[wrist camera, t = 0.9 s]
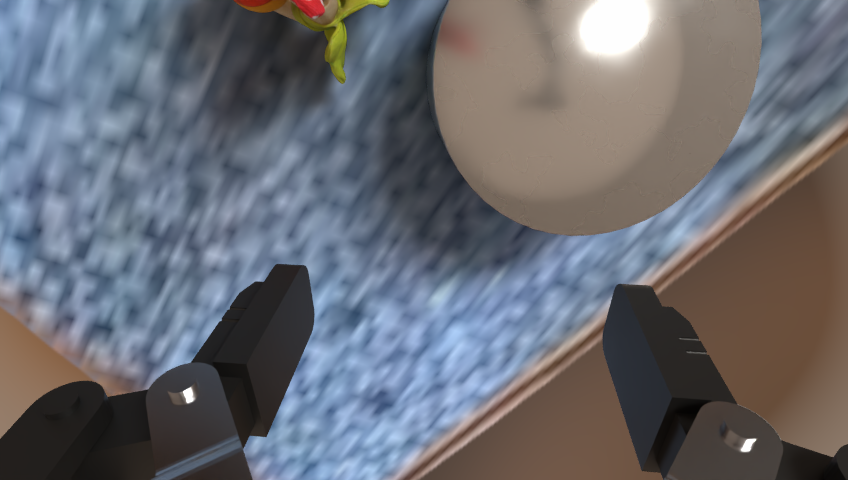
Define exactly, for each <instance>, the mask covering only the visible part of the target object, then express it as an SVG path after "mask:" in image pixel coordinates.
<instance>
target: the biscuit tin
mask: <svg viewBox="0 0 848 480" xmlns="http://www.w3.org/2000/svg"><path fill="white" fill-rule="evenodd" d="M760 52H761V17H760V10H759V2H758V0H448V2H447V3H446V5H445V7H444V9H443V11H442V13H441V15H440V17H439V19H438V22H437V25H436V27H435V30H434V32H433V36H432V40H431V44H430V48H429V52H428V60H427V68H426V88H427V96H428V104H429V108H430V112H431V116H432V120H433V122H434V125H435V127H436V130H437V132H438V135H439V137H440V138H441V140H442V142H443V144H444V146H445V147H446V149H447V151H448V153H449V155H450V157H451V158H452V160H453V162H454V164H455V166H456V168H457V169H458V170H459V172H460V173H461V174H462V176H463V177H464V178H465V180H466V181H467V183H468V184H469V185H470V187H471V188H472V189H473V190H474V191H475V192H476V193H477V194H478V195H479V196H480V197H481V198H482V199H483V200H484V201H485V202H486V203H488V204H489V205H490V206H492V207H493V208H494V209H496V210H497V211H498V212H499V213H501V214H503V215H505V216H506V217H508V218H510V219H512V220H513V221H515V222H517V223H520V224H522V225H525V226H527V227H530V228H532V229H535V230H539V231H543V232H547V233H552V234H560V235H569V236H578V235H595V234H602V233H608V232H612V231H616V230H620V229H623V228H627V227H630V226H632V225H635V224H637V223H640V222H642V221H645V220H647V219H649V218H650V217H652V216H654V215H656V214H658V213H660V212H662V211H663V210H665V209H666V208H668V207H669V206H671V205H672V204H674V203H675V202H677V201H678V200H679V199H681V198H682V197H683V196H684V195H686V194H687V193H688V192H689V191H690V190H691V189H692V188H694V187H695V186H696V185H697V184H698V183H699V182H700V181H701V180H702V179H703V178H704V177H705V176H706V174H707V173H708V172H709V171H710V170H711V169H712V168H713V167H714V165H715V164H716V163H717V161H718V160H719V159H720V157H721V156H722V155H723V153H724V152H725V151H726V149H727V147H728V146H729V144H730V142H731V141H732V139H733V137H734V136H735V134H736V132H737V130H738V128H739V126H740V124H741V122H742V120H743V118H744V116H745V113H746V111H747V108H748V105H749V102H750V100H751V97H752V94H753V91H754V87H755V82H756V78H757V74H758V69H759V62H760Z"/></svg>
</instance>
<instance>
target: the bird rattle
mask: <svg viewBox="0 0 848 480" xmlns="http://www.w3.org/2000/svg"><path fill="white" fill-rule="evenodd" d="M233 1H235V2H236V3H237V4H238V5H240V6H242V7H243V8H245V9H248V10H250V11H254V12H259V13H265V12H271V11H275V12H277V13H279V14H281V15H283V16H286V17H288V18H290V19H293V20H295V21H298V22H299V23H301V24H302V25H304V26H306V27H308V28H309V29H311V30H313V31H317V32H318V31H324V33H325V36H326V38H327V41H328V45H327V47H326V50H325V60H326V62H329V64H330V66H331V70H332V73H333V74H334V76H335V77H336V79H337V80H338V81H339V82H340V83H341V84H343V83H344V82H345V80H346V77H345V73H344V70H343V67H344V60H345V49H346V43H347V34H346V28H345V24H344V21H343V19H344V18H345V17H347V16H349V15H350V14H352V13H354V12H356V11H358V10H360V9H361V8H363V7H365V6H367V5H369V4H373V5H376V6H378V7H380V8H384V7H386V6H387V5H388V4H389V0H233Z"/></svg>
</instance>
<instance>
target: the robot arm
mask: <svg viewBox="0 0 848 480" xmlns="http://www.w3.org/2000/svg"><path fill="white" fill-rule="evenodd" d="M313 325H314V306H313V300H312V293H311V287H310V280H309V274H308V270H307V267H306V266H304V265H287V264H276V265H275V266H274V267H273V269H272V270H271V272H270V273H269V275H268V277H267V278H266V280H265V281H264V282H256V281H255V282H254V283H253V284H251V285H250V286H249V287H247V288H246V289H244V290H243V291H242V292H240V293H239V295H238V296H237V297H236V299H235V300H234V302H233V303H232V305H231V306H230V310H227V312H226V313H225V315H224V316H223V317H222V321H220V322H219V323H218V325H217V326H216V327H215V329H214V330H213V332H212V333H211V335H210V336H209V337H208V339H207V340H206V342H205V343H204V345H203V346H202V347H201V349H200V350H199V352H198V353H197V355H196V356H195V358H194V359H193V360H192V362H191V363H188V364H184V365H180V366H177V367H175V368H173V369H171V370H169V371H167V372H166V373H164V374H163V375H161V376H160V377H159V378H158V379H156V380H155V382H154V383H153V384H152V385H151V387H150V388H149V389H148V390H144V391H138V392H133V393H127V394H122V395H116V396H111V397H107V395H106V393H105V391H104V389H103V387H102V386H101V385H100V384H98V383H96V382H92V381H78V382H72V383H69V384H66V385H63V386H60V387H58V388H56V389H53V390H52V391H50V392H48V393H46V394H45V395H43V396H42V397H40V398H39V399H38V400H36V401H35V402H34V403H33V404H32V405H31V406H30V407H29V408H28V409H27V410H26V411H25V413H23V415H22V416H21V417H20V418H19V419H18V420H17V421H16V422H15V423H14V424H13V426H12V427H11V428H10V429H9V430H8V431H7V432H6V433H5V434H4V435H3V437H2V438H1V439H0V480H253V479H252V476H251V473H250V470H249V467H248V464H247V461H246V457H245V454H244V451H243V448H244V446H245V444H246V442H247V440H248V438H249V436H261V437H267V434H268V432H269V430H270V428H271V425H272V423H273V421H274V418H275V416H276V414H277V411H278V409H279V407H280V405H281V402H282V400H283V398H284V395H285V393H286V391H287V388H288V386H289V384H290V381H291V379H292V377H293V375H294V372H295V370H296V368H297V365H298V363H299V361H300V358H301V356H302V354H303V352H304V349H305V347H306V345H307V342H308V340H309V338H310V335H311V333H312V330H313ZM603 350H604V355H605V358H606V361H607V364H608V368H609V371H610V374H611V377H612V380H613V383H614V386H615V389H616V392H617V396H618V398H619V402H620V405H621V408H622V411H623V414H624V417H625V420H626V423H627V427H628V429H629V433H630V436H631V439H632V442H633V445H634V448H635V451H636V454H637V457H638V460H639V464H640V466H641V470H642V471H647V472H659V473H661V475H662V477H663V480H848V444H847V445H844V446H843V447H841V448H840V449H839V450H838V452H837V453H836V455H835V456H834V457H830V456H827V455H824V454H821V453H818V452H815V451H812V450H809V449H805V448H802V447H799V446H796V445H793V444H790V443H787V442H785V441H782V440H781V439H780V437H779V435H778V434H777V432H776V431H775V430H774V428H773V427H772V426H771V425H770V424H769V423H768V422H767V421H765V420H764V419H763V418H762V417H760V416H759V415H757V414H756V413H754V412H753V411H751V410H749V409H747V408H745V407H742V406H740V405H738V404H737V403H736V401H735V399H734V398H733V396H732V394H731V392H730V391H729V389H728V387H727V386H726V384H725V382H724V380H723V379H722V377H721V375H720V373H719V372H718V370H717V368H716V367H715V365H714V363H713V362H712V360H711V358H710V356H709V355H707V354H706V352H707V351H706V349H705V348H704V346H703V344H702V343H701V341H699V338H698V336H697V334H696V332H695V331H694V329H693V327H692V325H691V324H690V322H689V321H688V320H687V319H686V318H684V317H683V316H682V315H681V314H680V313H679V312H677V311H676V310H675V309H674V308H673V307H662V305H661V303H660V301H659V299H658V298H657V296H656V294H655V292H654V290H653V288H652V287H651V286H647V285H629V284H618V285H617V286H616V287H615V290H614V293H613V297H612V300H611V304H610V308H609V312H608V315H607V319H606V323H605V327H604V331H603Z"/></svg>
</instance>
